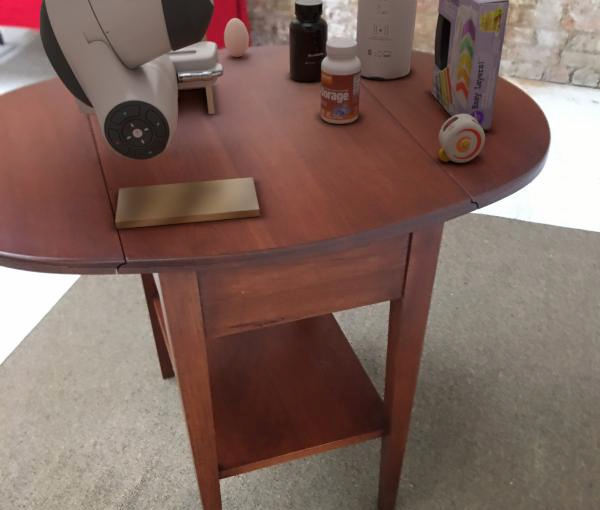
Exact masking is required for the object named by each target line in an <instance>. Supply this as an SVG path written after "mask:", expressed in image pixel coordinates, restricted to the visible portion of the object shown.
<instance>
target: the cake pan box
mask: <svg viewBox="0 0 600 510" xmlns="http://www.w3.org/2000/svg"><path fill="white" fill-rule="evenodd" d="M509 8H510V1H509V0H438V8H437V12H438V15H437V20H436V27H435V33H434V35H435V36H434V64H433V69H432V79H431V89H430V92H431V93H430V94H432V95H433V96H434V98H435V99H436V100H437V101H438V103H439V104H440V105H441V106H442V107H443V109H444V110H445V111H446V112H447V113H448V115H449V116H450V118H451V117H453V116H455V115H458V114H468V115H471V116H472V117H474V118H475V119H476V121H477V122H478V123H479V125H480V126H481V128H482V129H483V131H484V132H486V131H490V128H491V126H492V120H493V119H492V118H493V112H494V106H495V99H496V93H497V87H498V86H497V85H498V81H499V74H500V68H501V67H500V66H501V61H502V60H501V59H502V54H503V53H502V52H503V49H504V41H505V34H506V33H505V32H506V29H507V21H508V14H509Z"/></svg>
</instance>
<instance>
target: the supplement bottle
mask: <svg viewBox="0 0 600 510" xmlns="http://www.w3.org/2000/svg"><path fill="white" fill-rule="evenodd" d="M323 4H324V3H323V0H295V1H294V11H293V12H294V15H295V17H294V18H292V20H291V21H290V23H289V26H288V28H289V29H288V39H289V40H288V41H289V43H288V44H289V46H288V47H289V75H290V77H291V78H292V79H293V80H295V81H297V82H303V83H312V82H313V83H315V82H318V81H321V64H322V61H323V59H324V58H325V57H327V56H328V54H327V53H326V42H327V41H328V40H329V39H328V37H329V25H328V23H327V21H326V19H325V18H323V17H322V15H323V14H324V10H323V9H324V7H323V6H324V5H323Z"/></svg>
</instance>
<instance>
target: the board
mask: <svg viewBox="0 0 600 510" xmlns="http://www.w3.org/2000/svg"><path fill="white" fill-rule="evenodd" d="M117 195H118V196H117V204H116V212H115V220H114V223H115V227H116V229H117V230H121V229H133V228H142V227H153V226H155V227H156V226H166V225H177V224H188V223H199V222H207V221H208V222H210V221H211V222H212V221H221V220H234V219H242V218H244V219H245V218H255V217H261V213H260V206H259V201H258V197H257V190H256V185H255V181H254V177H253V176H250V177H249V176H248V177H238V178H237V177H236V178H227V179H226V178H225V179H216V180H204V181H202V180H201V181H190V182H180V183H179V182H178V183H168V184H167V183H165V184H154V185H143V186H132V187H120V188H118V194H117Z"/></svg>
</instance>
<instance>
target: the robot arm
mask: <svg viewBox="0 0 600 510" xmlns="http://www.w3.org/2000/svg"><path fill="white" fill-rule="evenodd" d="M215 7H216V6H215V2H214V0H41V2H40V10H39V35H40V41H41V43H42V44H41V45H42V48H43V50H44V52H45V54H46V57H47V59H48V61H49V63H50V65H51V66H52V69H53V70H54V72H55V74H56V75H57V77H58V78H59V79H60V81H61V82H62V84H63V85H64V86H65V88H66V89H67V91H69V93H70V94H71V95H72V96H73V97H74V100H75V103H76V105H77V108H78V110H79V112H80V113H81V114H82V115H93V116H96V119H97V122H98V127H99V129H100V132H101V134H102V137H103V138H104V140H105V142H106V144H107V145H108V146H109V147H110V149H112V151H114V152H115V153H116V154H118V155H119V156H121V157H123V158H126V159H130V160H135V161H147V160H152V159H154V158H157V157H158V156H160V155H161V154H163V153H164V152H165V151H166V150H168V148H169V147H170V145H171V144H172V142H173V140H174V138H175V136H176V132H177V128H178V121H179V102H178V99H179V90H178V89H181V88H194V87H204V86H209V85H214V84H216V83H217V81H218V80H219V78H221V77H223V76H224V67H223V65H222V64H221V63H220V57H219V50H218V49H219V48H218V44H217V43H216V42H214V41H210V40H209V41H208V40H207V41H205V42H201V41H202V39H203V37H204V36H205V34H206V35H207V32H208V30H209V27H210V25H211V22H212V19H213V16H214V12H215Z"/></svg>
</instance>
